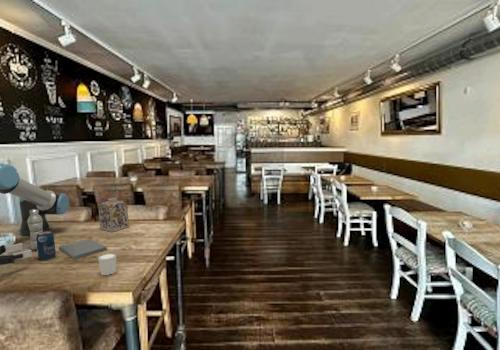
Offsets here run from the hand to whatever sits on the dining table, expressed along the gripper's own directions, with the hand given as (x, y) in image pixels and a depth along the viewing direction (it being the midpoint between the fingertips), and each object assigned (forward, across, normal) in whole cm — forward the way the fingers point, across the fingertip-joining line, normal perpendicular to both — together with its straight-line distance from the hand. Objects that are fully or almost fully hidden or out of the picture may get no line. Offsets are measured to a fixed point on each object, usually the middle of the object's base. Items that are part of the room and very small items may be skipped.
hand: (26, 249), depth 154 cm
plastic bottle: (+9, -17, -6) cm, 20 cm away
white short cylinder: (+19, +39, -7) cm, 44 cm away
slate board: (+23, +2, -6) cm, 24 cm away
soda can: (+8, 0, -7) cm, 10 cm away
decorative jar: (+50, -21, -7) cm, 54 cm away
